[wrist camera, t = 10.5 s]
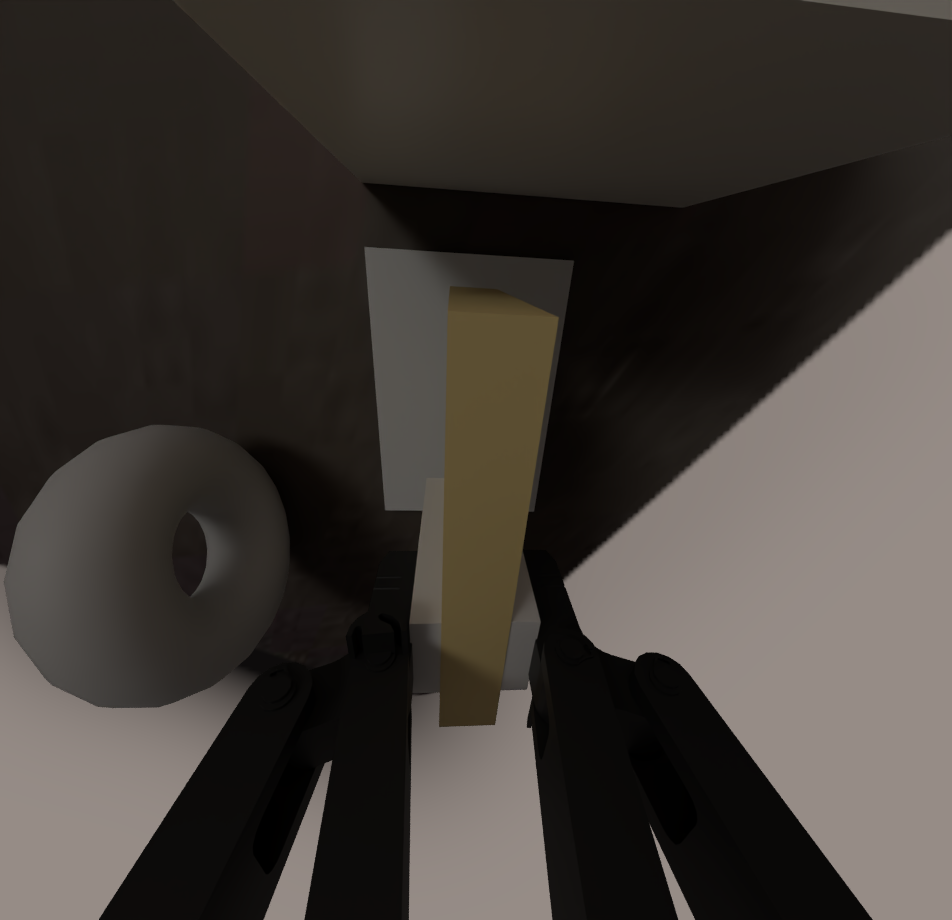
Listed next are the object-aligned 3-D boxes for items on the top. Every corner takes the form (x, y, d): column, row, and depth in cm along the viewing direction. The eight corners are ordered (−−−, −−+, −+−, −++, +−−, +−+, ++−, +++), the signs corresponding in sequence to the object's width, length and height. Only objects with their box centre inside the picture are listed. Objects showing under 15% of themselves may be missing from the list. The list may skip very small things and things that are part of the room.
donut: (167, 396, 16) (-186, 554, 7) (243, 383, 16) (-19, 527, 7) (264, 561, 21) (124, 779, 12) (322, 552, 21) (225, 764, 12)
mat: (366, 247, 14) (364, 247, 13) (571, 260, 14) (574, 260, 14) (386, 505, 19) (385, 510, 19) (532, 507, 20) (533, 511, 20)
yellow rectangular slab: (444, 539, 17) (439, 726, 10) (449, 286, 12) (447, 311, 5) (477, 539, 17) (495, 724, 10) (496, 289, 12) (559, 317, 5)
